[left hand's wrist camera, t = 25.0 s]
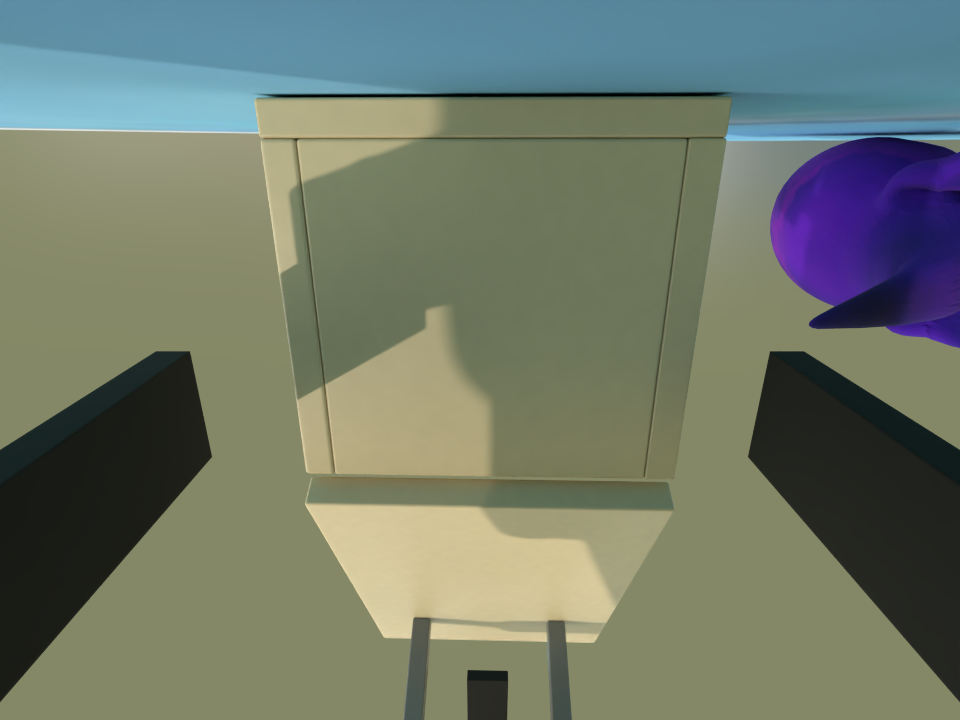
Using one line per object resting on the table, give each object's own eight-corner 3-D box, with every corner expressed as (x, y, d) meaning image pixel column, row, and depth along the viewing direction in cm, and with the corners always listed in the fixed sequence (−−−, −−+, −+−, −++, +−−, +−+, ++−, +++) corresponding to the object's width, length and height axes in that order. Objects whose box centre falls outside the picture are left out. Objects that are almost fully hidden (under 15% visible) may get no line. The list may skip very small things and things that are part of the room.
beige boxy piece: (592, 623, 25) (617, 867, 20) (386, 618, 25) (356, 857, 20) (668, 481, 14) (766, 927, 9) (311, 475, 15) (203, 906, 9)
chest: (607, 122, 23) (591, 324, 26) (381, 122, 23) (393, 322, 26) (734, 95, 11) (674, 480, 14) (252, 97, 11) (305, 474, 14)
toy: (1181, 136, 29) (921, 106, 52) (807, 212, 34) (724, 154, 58) (1118, 390, 35) (912, 261, 59) (812, 421, 40) (736, 292, 64)
